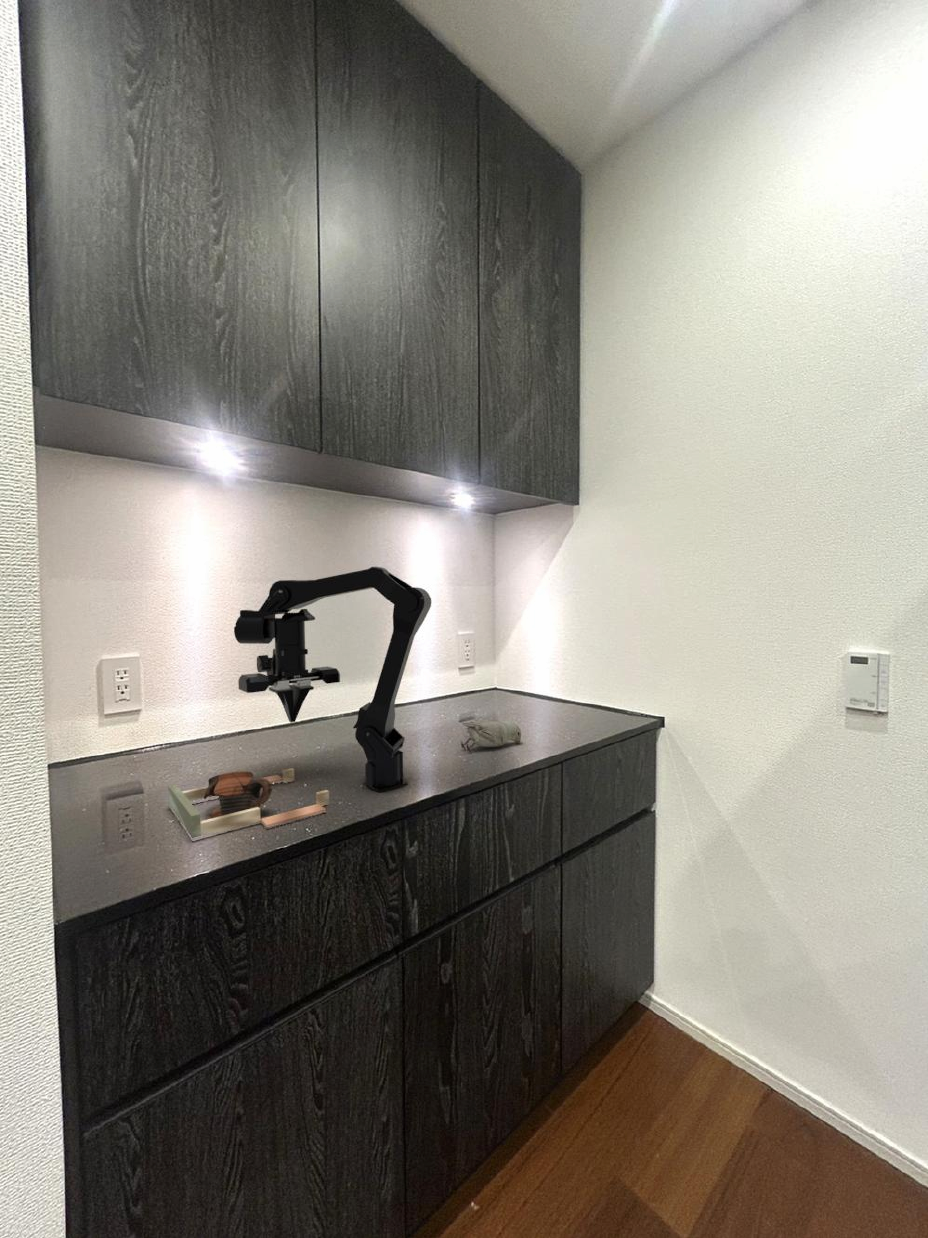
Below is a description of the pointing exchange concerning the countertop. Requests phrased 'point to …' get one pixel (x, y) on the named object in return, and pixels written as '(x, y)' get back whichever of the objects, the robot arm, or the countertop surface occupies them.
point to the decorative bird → (492, 733)
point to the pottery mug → (237, 792)
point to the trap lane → (197, 828)
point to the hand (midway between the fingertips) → (292, 721)
